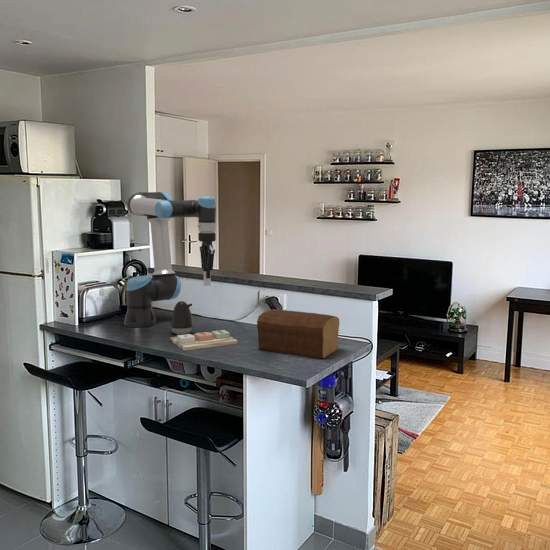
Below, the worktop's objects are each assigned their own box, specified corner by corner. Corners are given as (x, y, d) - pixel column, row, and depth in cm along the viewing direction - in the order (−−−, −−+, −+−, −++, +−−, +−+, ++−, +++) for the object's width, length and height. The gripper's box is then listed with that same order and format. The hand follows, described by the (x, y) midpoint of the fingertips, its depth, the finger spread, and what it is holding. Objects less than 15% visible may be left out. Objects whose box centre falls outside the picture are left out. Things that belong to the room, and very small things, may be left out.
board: (170, 340, 253) (170, 337, 253) (221, 334, 264) (220, 331, 264) (184, 350, 237) (184, 347, 237) (237, 343, 249) (237, 340, 248)
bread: (322, 360, 225) (323, 320, 223) (256, 350, 239) (255, 312, 237) (339, 349, 241) (340, 311, 238) (276, 340, 255) (276, 304, 252)
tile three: (211, 337, 256) (211, 331, 255) (224, 335, 259) (224, 329, 258) (216, 340, 250) (216, 334, 250) (229, 338, 253) (229, 332, 253)
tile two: (194, 339, 252) (194, 333, 252) (207, 337, 255) (207, 331, 254) (199, 342, 247) (199, 336, 246) (212, 340, 250) (212, 334, 249)
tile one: (177, 341, 248) (176, 335, 248) (190, 340, 251) (190, 333, 251) (181, 344, 243) (181, 338, 243) (195, 343, 246) (195, 336, 245)
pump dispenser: (187, 337, 260) (186, 303, 257) (166, 335, 263) (166, 302, 261) (197, 332, 269) (197, 299, 267) (177, 330, 272) (177, 298, 270)
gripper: (193, 231, 256) (194, 283, 260) (204, 233, 244) (204, 288, 248) (209, 230, 259) (209, 282, 263) (220, 233, 248) (220, 287, 252)
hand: (207, 285), depth 256 cm, fingers closed
